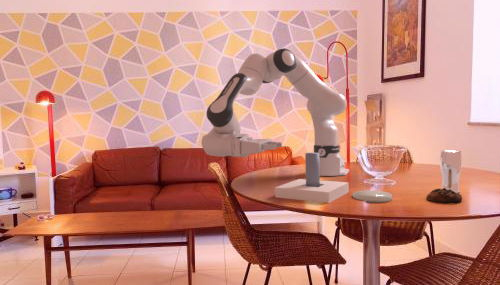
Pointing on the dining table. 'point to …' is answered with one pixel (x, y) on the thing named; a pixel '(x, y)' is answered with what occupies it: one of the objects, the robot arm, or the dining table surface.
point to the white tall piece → (450, 169)
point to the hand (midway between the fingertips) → (278, 145)
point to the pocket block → (312, 191)
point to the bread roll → (444, 196)
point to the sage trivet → (373, 196)
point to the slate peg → (312, 169)
